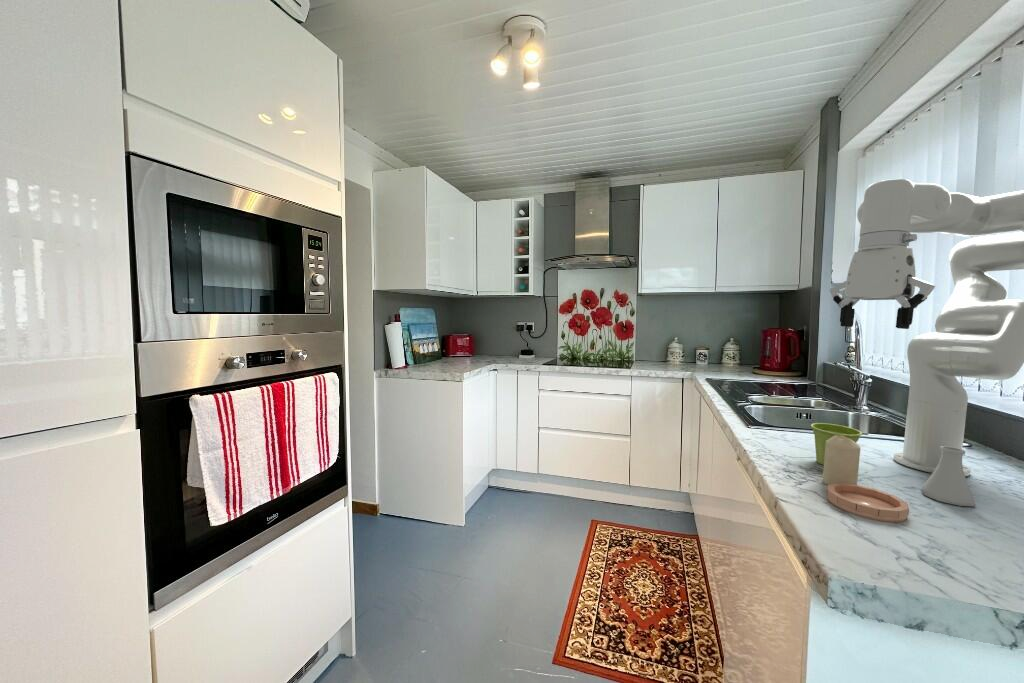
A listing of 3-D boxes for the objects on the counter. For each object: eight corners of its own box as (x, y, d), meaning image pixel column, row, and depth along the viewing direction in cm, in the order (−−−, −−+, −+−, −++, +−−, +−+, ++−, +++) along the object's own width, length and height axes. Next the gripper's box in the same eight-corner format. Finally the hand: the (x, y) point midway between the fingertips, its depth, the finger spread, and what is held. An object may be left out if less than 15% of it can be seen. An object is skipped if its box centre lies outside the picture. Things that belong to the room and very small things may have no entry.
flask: (958, 494, 80) (963, 445, 80) (986, 510, 74) (992, 457, 73) (912, 488, 83) (916, 440, 82) (935, 503, 76) (941, 451, 75)
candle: (863, 491, 80) (867, 442, 80) (831, 488, 81) (835, 439, 81) (846, 480, 86) (850, 434, 85) (817, 477, 87) (820, 432, 86)
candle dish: (849, 490, 81) (850, 480, 81) (921, 516, 71) (922, 505, 71) (813, 497, 77) (814, 487, 77) (883, 526, 67) (884, 514, 67)
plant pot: (869, 470, 92) (872, 433, 91) (839, 474, 89) (842, 435, 89) (827, 456, 101) (829, 422, 100) (798, 459, 98) (801, 424, 98)
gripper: (950, 239, 76) (939, 330, 77) (846, 251, 92) (838, 326, 93) (927, 234, 73) (916, 328, 74) (824, 247, 89) (816, 325, 90)
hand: (873, 327), depth 84 cm, fingers open, 9 cm apart
